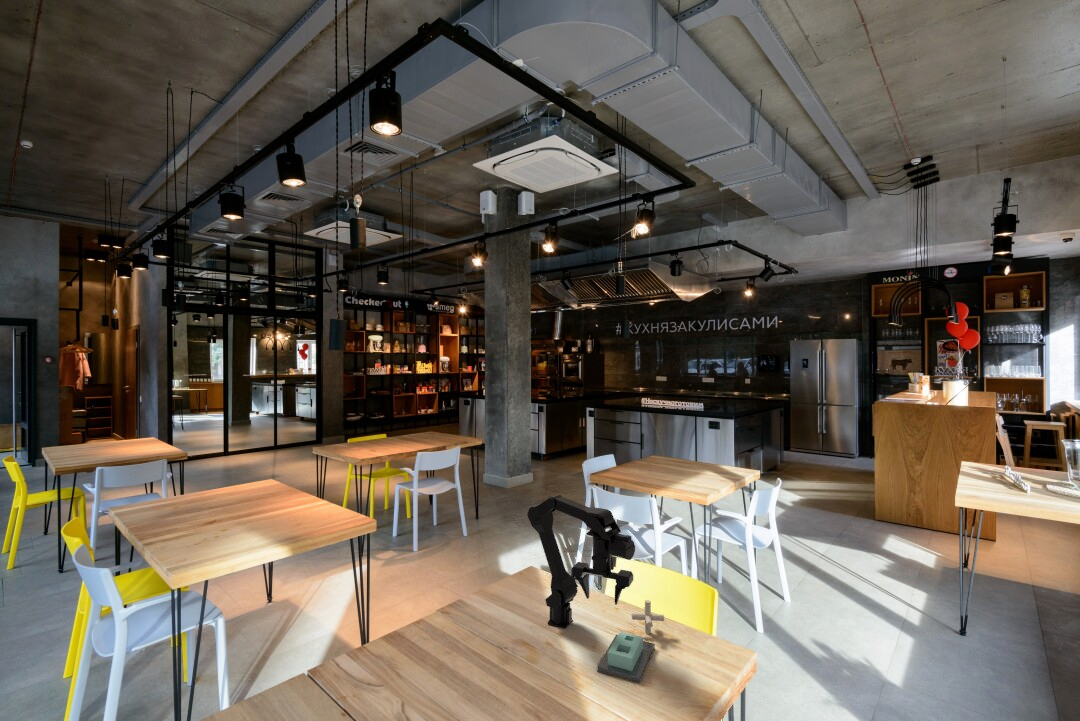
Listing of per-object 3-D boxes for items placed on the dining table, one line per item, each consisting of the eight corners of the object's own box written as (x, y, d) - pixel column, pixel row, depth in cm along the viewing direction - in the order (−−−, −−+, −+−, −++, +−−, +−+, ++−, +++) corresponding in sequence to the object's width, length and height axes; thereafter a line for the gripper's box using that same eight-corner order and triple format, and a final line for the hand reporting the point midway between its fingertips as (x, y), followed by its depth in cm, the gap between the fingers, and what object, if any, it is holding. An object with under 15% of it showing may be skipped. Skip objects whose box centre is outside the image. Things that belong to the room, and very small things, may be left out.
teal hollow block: (632, 671, 140) (632, 658, 140) (607, 664, 143) (607, 652, 143) (643, 648, 151) (643, 636, 151) (620, 642, 154) (620, 631, 154)
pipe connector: (661, 625, 167) (661, 594, 167) (666, 642, 157) (666, 609, 157) (630, 623, 168) (630, 593, 168) (633, 640, 158) (633, 608, 158)
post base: (597, 671, 143) (597, 657, 142) (616, 639, 159) (616, 626, 159) (639, 683, 137) (639, 668, 137) (654, 648, 154) (654, 635, 154)
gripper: (637, 547, 162) (638, 596, 162) (582, 538, 170) (583, 585, 170) (628, 560, 152) (628, 612, 152) (570, 550, 160) (570, 599, 160)
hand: (601, 601), depth 159 cm, fingers open, 9 cm apart
